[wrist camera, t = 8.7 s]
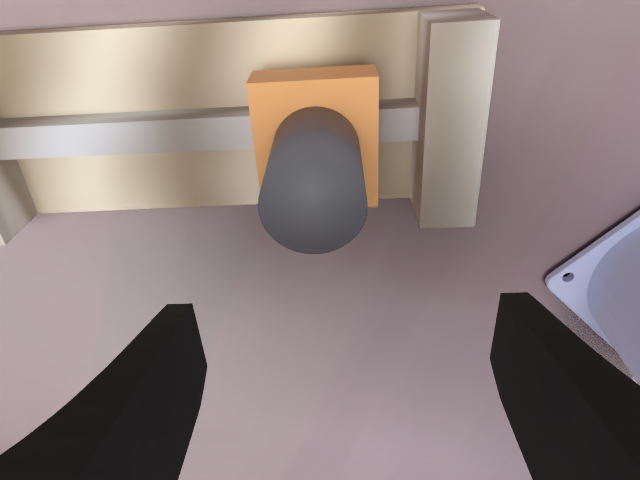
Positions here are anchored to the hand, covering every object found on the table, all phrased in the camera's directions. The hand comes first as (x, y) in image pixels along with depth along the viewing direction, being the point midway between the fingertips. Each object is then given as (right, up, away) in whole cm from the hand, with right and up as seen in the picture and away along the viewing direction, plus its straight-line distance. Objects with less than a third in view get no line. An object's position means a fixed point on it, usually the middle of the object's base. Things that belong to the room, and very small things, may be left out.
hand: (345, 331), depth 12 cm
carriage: (-1, +7, +7) cm, 9 cm away
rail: (-5, +7, +8) cm, 12 cm away
